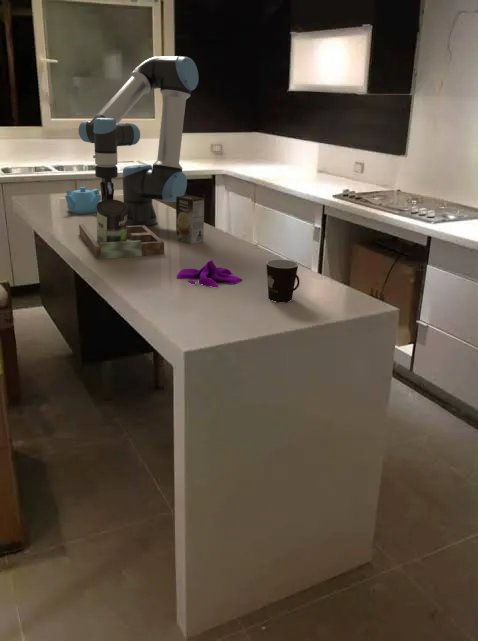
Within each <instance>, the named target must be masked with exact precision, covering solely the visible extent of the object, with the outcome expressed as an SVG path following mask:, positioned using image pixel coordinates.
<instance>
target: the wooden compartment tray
mask: <svg viewBox="0 0 478 641" xmlns="http://www.w3.org/2000/svg"><path fill="white" fill-rule="evenodd" d="M78 225H79V226H78V230H79V231H78V232H79V235H80V237H81V239H82V240H83V242H84V243H85V244H86V246H87V248H89V250H90V252H91V253H92V254H93V256H94V258H95V259H96V260H102V259H115V258H117V259H118V258H132V257H133V256H134V257H145V256H150V255H164V254H165V242H164V241H163V240H162V239H161V238H160V237H159V236H157V235H156V234H155V233H154V232H153V231H151V229H149V228H148V227H147V226H145V225H139V226H129V225H127V235H126V236H127V237H126V239H128V238H130V240H126V241H120V242H103V243H100V245H99V244H98V243H97V239H95V237H94V236H93V235H92V233H91V232H90V231H89V230H88V229H87V227H86V226H85V224H84V223H79V224H78Z"/></svg>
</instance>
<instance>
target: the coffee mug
mask: <svg viewBox="0 0 478 641" xmlns="http://www.w3.org/2000/svg"><path fill="white" fill-rule="evenodd" d="M265 264H266V279H267V293H268V294H267V295H268V296H267V297H268V300H269V299H270V301H271V300H273V301H276V302H275V303H279V302H285V303H289V302H288V301H290V300H291V301H292V300H293V296H294V295H293V294H294V292H295V291H296V290H297V289H298V288H299V286H300V278H299V275H297V272H298V267H299V263H298V262H297V261H294V260H290V259H281V258H279V259H270V260H267V261H266V263H265ZM296 282H297V283H296ZM295 283H296V284H295ZM295 285H296V286H295ZM273 301H272V302H273ZM291 301H290V302H291Z"/></svg>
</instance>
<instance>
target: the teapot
mask: <svg viewBox="0 0 478 641" xmlns="http://www.w3.org/2000/svg"><path fill="white" fill-rule="evenodd" d="M65 192H66V195H64V197H65V200H66V203H67V204H66V205H67V206H66V208H67V210H68V211H69V212H70V213H71V212H72V213H71V214H75V215H76V214H77V215H89V214H90V215H91V214H95V213H96V214H97V208H96V206H97V204H98V203H99V202H101V201H102V198H101V193H100V192H99V189H98V188H94V189H92V190H90V189H87V187H86V186H80V187H79V189H75V190H73V191H72V190H71V189H66V190H65Z"/></svg>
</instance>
